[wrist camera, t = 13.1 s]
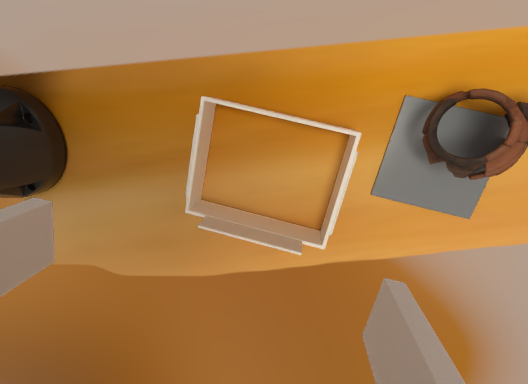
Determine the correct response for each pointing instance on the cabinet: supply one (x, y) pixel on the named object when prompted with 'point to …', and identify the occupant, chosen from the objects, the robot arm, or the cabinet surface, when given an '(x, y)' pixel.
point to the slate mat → (437, 175)
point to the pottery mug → (496, 162)
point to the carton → (250, 223)
